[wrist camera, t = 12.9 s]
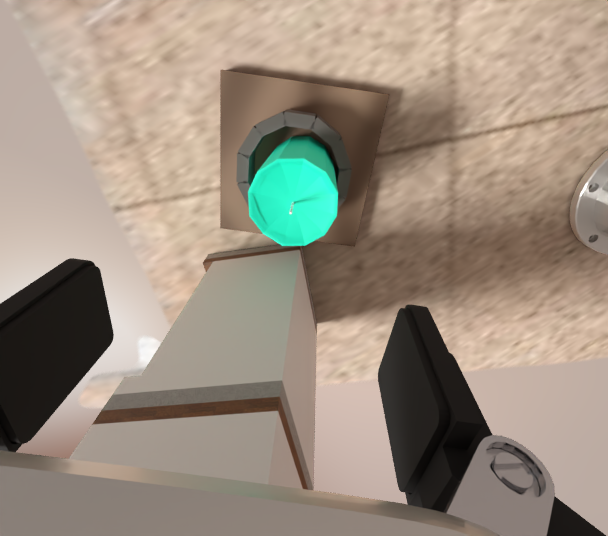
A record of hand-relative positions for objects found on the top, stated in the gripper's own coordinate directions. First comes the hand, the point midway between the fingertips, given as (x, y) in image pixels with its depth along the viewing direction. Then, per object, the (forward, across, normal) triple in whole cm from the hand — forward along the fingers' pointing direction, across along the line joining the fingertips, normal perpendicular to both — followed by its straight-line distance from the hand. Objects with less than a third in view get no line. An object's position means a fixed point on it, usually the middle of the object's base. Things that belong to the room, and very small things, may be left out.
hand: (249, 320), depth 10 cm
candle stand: (+24, 0, 0) cm, 24 cm away
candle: (+23, 0, 0) cm, 23 cm away
